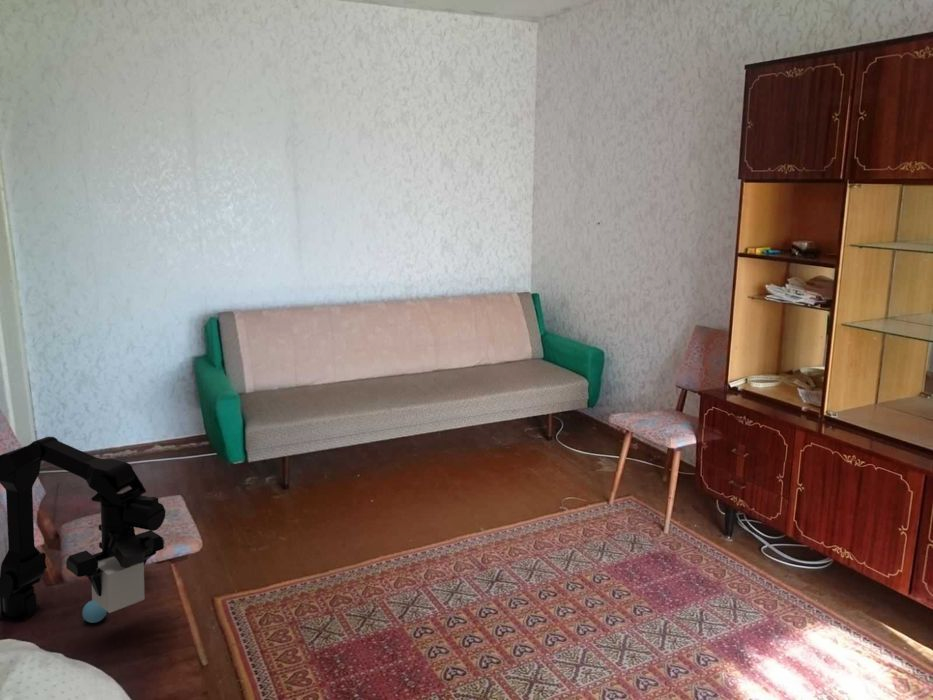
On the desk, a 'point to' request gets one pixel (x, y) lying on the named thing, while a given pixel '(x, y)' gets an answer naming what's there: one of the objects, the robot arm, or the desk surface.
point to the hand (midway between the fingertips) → (117, 588)
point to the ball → (93, 612)
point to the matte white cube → (119, 585)
